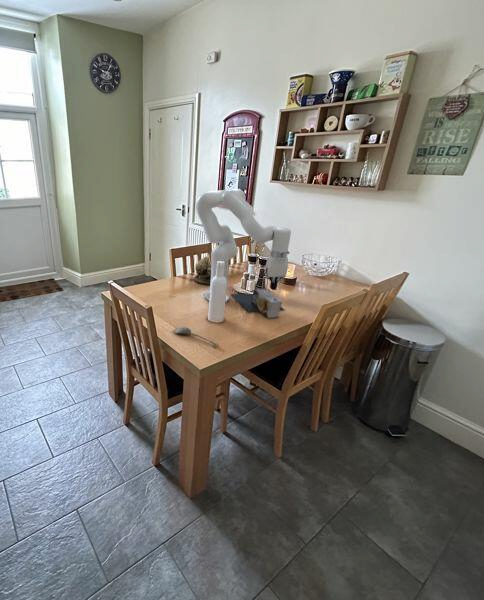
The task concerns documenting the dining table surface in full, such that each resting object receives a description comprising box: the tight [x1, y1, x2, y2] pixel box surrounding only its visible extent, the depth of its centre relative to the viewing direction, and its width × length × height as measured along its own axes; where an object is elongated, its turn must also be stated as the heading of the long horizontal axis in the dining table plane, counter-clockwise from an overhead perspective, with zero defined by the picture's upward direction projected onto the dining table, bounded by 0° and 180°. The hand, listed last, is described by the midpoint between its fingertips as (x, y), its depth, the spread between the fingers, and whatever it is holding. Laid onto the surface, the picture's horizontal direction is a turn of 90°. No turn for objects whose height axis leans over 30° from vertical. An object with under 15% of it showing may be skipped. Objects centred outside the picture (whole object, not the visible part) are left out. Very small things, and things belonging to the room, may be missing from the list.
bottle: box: [207, 261, 228, 324], centre depth 159 cm, size 8×8×30 cm
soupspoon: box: [174, 326, 219, 347], centre depth 146 cm, size 22×3×7 cm
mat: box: [230, 292, 284, 313], centre depth 185 cm, size 20×24×1 cm
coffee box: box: [251, 288, 283, 319], centre depth 172 cm, size 9×6×16 cm
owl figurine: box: [193, 255, 212, 286], centre depth 212 cm, size 18×12×17 cm, turn 43°
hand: (273, 289), depth 166 cm, fingers closed
